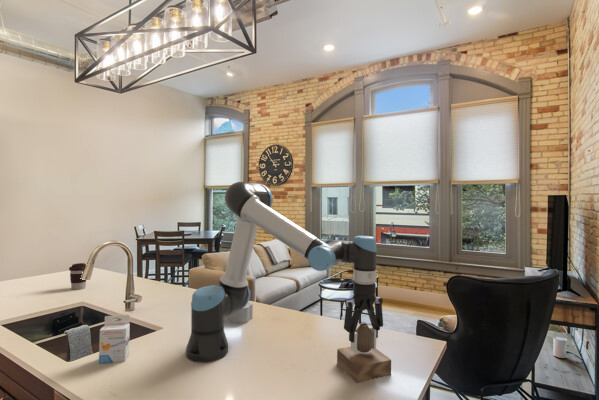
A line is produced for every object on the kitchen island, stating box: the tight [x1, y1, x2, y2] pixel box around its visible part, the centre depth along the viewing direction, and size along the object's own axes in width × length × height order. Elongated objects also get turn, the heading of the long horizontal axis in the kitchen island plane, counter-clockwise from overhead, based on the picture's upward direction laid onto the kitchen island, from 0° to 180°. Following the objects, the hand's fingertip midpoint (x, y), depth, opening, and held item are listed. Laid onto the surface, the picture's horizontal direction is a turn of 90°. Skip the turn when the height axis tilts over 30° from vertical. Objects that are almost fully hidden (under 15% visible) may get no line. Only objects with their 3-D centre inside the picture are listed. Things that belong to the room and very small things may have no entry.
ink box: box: [98, 314, 131, 364], centre depth 114 cm, size 8×5×15 cm, turn 103°
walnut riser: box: [336, 346, 392, 384], centre depth 110 cm, size 13×13×5 cm
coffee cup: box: [68, 262, 87, 291], centre depth 201 cm, size 10×10×15 cm
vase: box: [355, 322, 374, 352], centre depth 110 cm, size 7×7×9 cm
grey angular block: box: [224, 300, 254, 325], centre depth 154 cm, size 10×13×9 cm
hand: (363, 349), depth 110 cm, fingers closed on vase, 7 cm apart
